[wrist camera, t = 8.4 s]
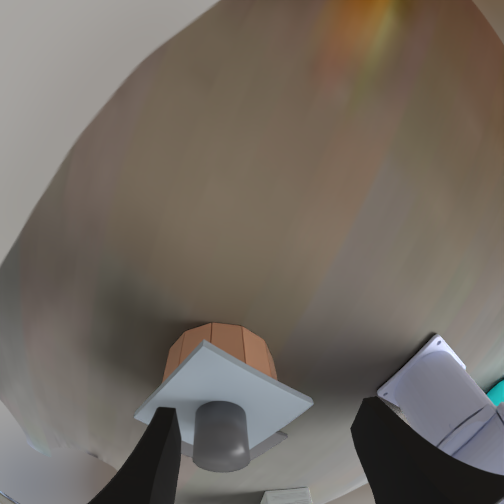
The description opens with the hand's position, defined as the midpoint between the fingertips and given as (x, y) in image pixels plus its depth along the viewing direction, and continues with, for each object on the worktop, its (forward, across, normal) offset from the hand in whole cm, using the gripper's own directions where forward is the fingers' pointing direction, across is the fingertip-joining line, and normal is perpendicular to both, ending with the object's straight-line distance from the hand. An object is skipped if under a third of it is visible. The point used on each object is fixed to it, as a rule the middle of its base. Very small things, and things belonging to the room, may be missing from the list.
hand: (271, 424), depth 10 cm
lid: (+6, +2, +6) cm, 9 cm away
